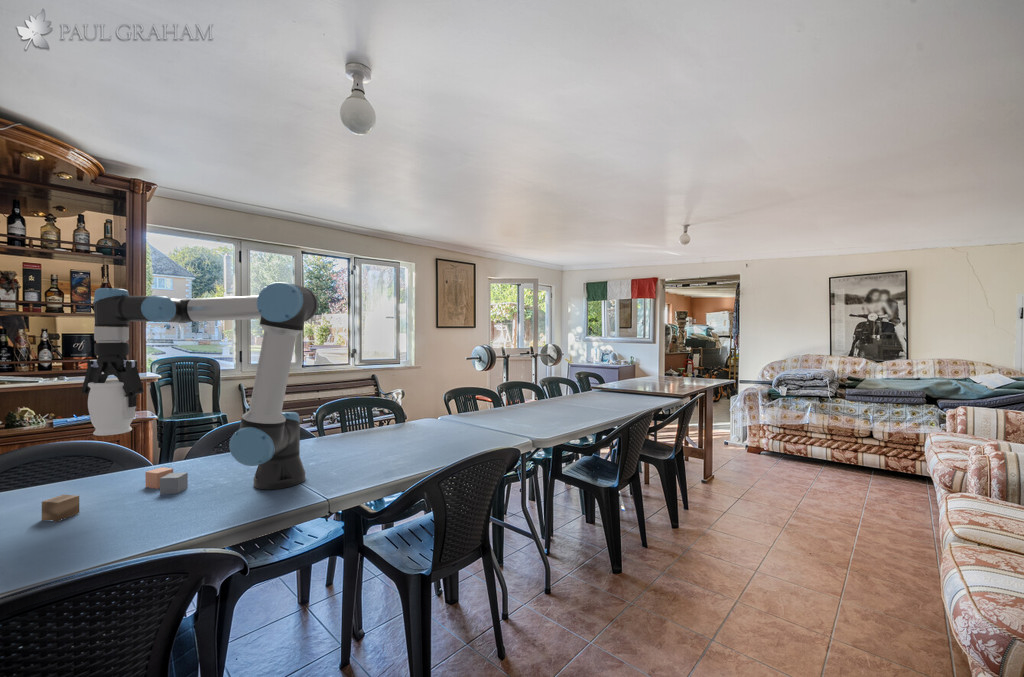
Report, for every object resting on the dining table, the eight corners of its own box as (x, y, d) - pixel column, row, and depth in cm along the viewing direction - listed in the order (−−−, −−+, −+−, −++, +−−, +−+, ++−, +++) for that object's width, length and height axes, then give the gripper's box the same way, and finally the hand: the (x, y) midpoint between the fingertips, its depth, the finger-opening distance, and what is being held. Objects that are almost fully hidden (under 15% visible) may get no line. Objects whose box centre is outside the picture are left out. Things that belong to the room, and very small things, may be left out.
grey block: (187, 488, 140) (187, 472, 140) (178, 493, 135) (178, 477, 135) (170, 489, 139) (170, 473, 139) (160, 494, 134) (159, 478, 134)
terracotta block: (173, 484, 144) (173, 468, 144) (157, 489, 139) (157, 473, 139) (162, 482, 145) (161, 467, 145) (145, 487, 140) (145, 471, 140)
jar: (107, 437, 123) (106, 383, 123) (78, 436, 125) (77, 383, 125) (145, 429, 133) (145, 379, 133) (118, 428, 135) (117, 379, 135)
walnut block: (79, 513, 120) (79, 495, 120) (58, 521, 115) (58, 502, 115) (63, 512, 121) (63, 494, 120) (41, 520, 116) (41, 501, 116)
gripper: (159, 341, 131) (159, 416, 132) (91, 341, 134) (91, 414, 134) (134, 342, 124) (135, 421, 124) (63, 341, 126) (64, 419, 127)
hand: (112, 417), depth 129 cm, fingers closed on jar, 10 cm apart
